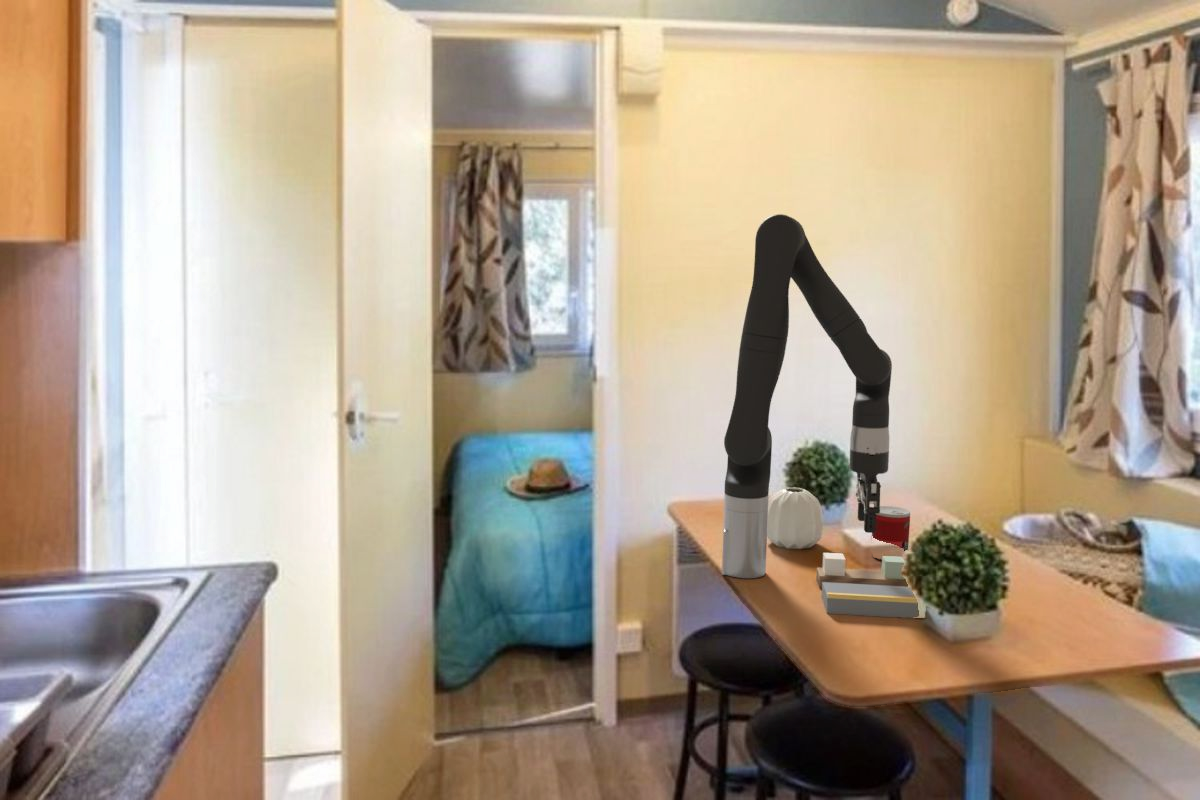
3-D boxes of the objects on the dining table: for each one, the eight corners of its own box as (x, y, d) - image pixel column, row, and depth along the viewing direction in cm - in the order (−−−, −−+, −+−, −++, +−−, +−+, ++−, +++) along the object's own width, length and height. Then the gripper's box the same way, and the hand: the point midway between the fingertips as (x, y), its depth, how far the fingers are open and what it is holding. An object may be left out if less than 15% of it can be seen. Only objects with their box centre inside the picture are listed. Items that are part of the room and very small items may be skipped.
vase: (751, 540, 215) (753, 486, 213) (798, 534, 221) (801, 481, 219) (786, 556, 202) (788, 499, 201) (835, 549, 208) (838, 493, 206)
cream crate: (824, 575, 182) (825, 558, 182) (822, 568, 186) (823, 552, 186) (844, 576, 182) (845, 559, 181) (842, 569, 186) (842, 553, 185)
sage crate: (884, 578, 181) (885, 561, 180) (881, 571, 185) (882, 555, 184) (905, 579, 180) (906, 562, 180) (901, 572, 184) (902, 556, 184)
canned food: (909, 563, 198) (912, 515, 197) (872, 561, 200) (875, 513, 198) (905, 553, 206) (908, 507, 204) (869, 551, 207) (871, 505, 206)
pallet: (819, 590, 182) (819, 576, 182) (816, 581, 187) (816, 567, 187) (910, 595, 180) (911, 581, 179) (905, 586, 185) (905, 572, 185)
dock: (826, 613, 168) (827, 593, 168) (821, 596, 177) (822, 578, 177) (925, 619, 166) (927, 599, 166) (915, 601, 175) (916, 583, 174)
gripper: (845, 441, 187) (842, 516, 189) (855, 454, 173) (852, 535, 175) (882, 442, 186) (879, 517, 188) (895, 455, 172) (892, 536, 174)
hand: (866, 526), depth 182 cm, fingers open, 8 cm apart
